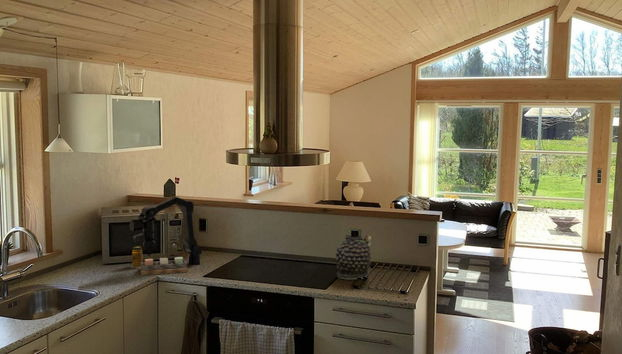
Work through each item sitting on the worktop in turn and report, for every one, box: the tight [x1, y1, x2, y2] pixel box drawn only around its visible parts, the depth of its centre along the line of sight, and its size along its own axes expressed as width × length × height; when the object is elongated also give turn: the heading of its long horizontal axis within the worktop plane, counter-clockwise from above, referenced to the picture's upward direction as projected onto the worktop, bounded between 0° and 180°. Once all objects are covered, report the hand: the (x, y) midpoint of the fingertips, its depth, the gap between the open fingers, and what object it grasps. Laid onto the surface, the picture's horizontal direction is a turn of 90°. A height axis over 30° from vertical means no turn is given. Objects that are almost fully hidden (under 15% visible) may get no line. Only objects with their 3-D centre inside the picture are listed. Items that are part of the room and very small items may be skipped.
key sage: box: [174, 256, 184, 264], centre depth 345 cm, size 4×4×3 cm
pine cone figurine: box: [335, 234, 372, 280], centre depth 332 cm, size 21×15×25 cm
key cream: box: [159, 257, 169, 265], centre depth 343 cm, size 4×4×3 cm
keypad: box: [140, 259, 189, 276], centre depth 343 cm, size 26×14×4 cm, turn 108°
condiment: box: [130, 245, 144, 269], centre depth 352 cm, size 7×8×12 cm
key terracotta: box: [144, 258, 154, 266], centre depth 340 cm, size 4×4×3 cm
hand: (149, 255), depth 340 cm, fingers closed
